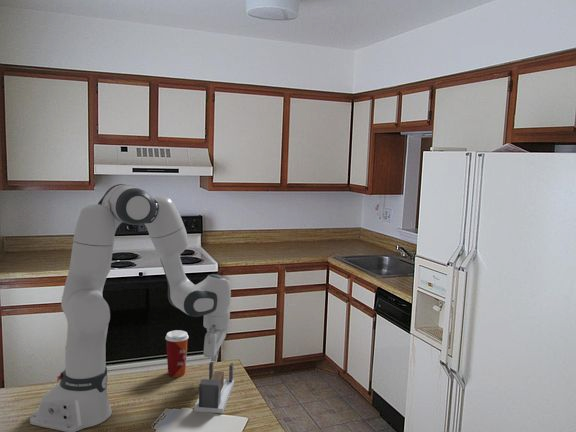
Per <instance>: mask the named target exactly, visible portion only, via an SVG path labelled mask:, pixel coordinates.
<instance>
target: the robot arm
mask: <svg viewBox="0 0 576 432" xmlns="http://www.w3.org/2000/svg"><path fill="white" fill-rule="evenodd" d="M122 223H124V224H128V225H133V226H138V225H144V226H145V228H146V230H147V231H148V235H149V237H150V240H151V242H152V244H153V247H154V249H155V251H156V253H157V254H158V257H159V259H160V263H161V267H162V268H163V269H162V270H163V271H164V275H165V278H166V281H167V298H168V302H169V303H170V305H172V306H173V307H175V308H176V309H179V310H180V311H181V312H183V313H184V314H186V315H187V316H189V317H193V318H199V317H203V322H202V323H203V327H204V328H205V329H206V331H207V332H206V333H205V334H204V335H205V336H204V342H203V356H204V357H206V358H210V362H217V360H218V358H219V352H220V347H221V346H222V344H223V342H224V340H225V339H226V337H227V331H228V328H229V327H230V321H231V320H230V318H231V311H230V303H231V297H232V291H231V289H232V287H231V282H230V279H229V277H227V276H224V275H220V274H215V273H211V274H208V275H207V276H206V278H204V279H203V280H202V281H200V282H198V283H197V284H194V283H193V282H192V281H191V280H190V279H189V278H188V277H187V275H186V273H185V269H184V267H183V263H182V259H181V255H182V253H184V251H186V248H187V247H188V245H189V238H188V233H187V230H186V227H185V224H184V222H183V218H182V216H181V214H180V212H179V211H178V208H177V207H176V204H175V203H174V201H173V200H172V199H171V198H170V197H167V196H165V195H158V196H151V194H149V192H147V191H146V190H143V189H141V188H139V187H137V186H135V185H131V184H123V183H119V184H115V185H113V186H111V187H109V188H108V190H106V192H105V194H104V195H103V196H102V198H101V199H99V201H98V203H96V204H89V205H87V206H85V207H84V208H82V209H81V210H80V212H79V215H78V219H77V221H76V226H75V229H74V234H73V241H72V248H71V255H70V261H69V268H68V272H67V276H66V280H65V284H64V288H63V293H62V296H61V302H60V303H61V304H60V307H61V310H62V312H63V314H64V315H65V318H66V322H67V334H66V344H65V347H64V352H65V353H64V358H65V361H64V363H65V365H64V366H65V368H64V370H63V371H61V372H60V374H59V375H58V376H57V377H56V381H57V382H58V383H57V384H56V385H55V386H54V387H52V388H51V389H49V390H48V391H47V392H45V394H44V395H43V396H42V398H41V399H40V402H39V406H38V407H37V409H35V410H34V412H32V414H31V416H30V418H29V424H30V425H31V426H32V425H33V426H37V427H41V428H47V429H50V430H51V429H52V430H57V431H61V432H79V431H82V430H83V429H85V428H91V427H94V426H97V425H99V424H102V423H103V422H105V421H107V420H108V419H109V418H110V417H111V415H112V413H113V411H112V408H111V404H110V401H109V397H108V395H109V394H108V391H107V390H108V389H107V388H108V381H109V380H108V368H107V366H106V343H107V338H108V337H107V335H108V329H109V323H110V320H111V310H110V306H109V304H108V302H107V301H106V300H105V298H104V297H103V295H104V294H103V291H104V286H105V283H106V280H107V277H108V275H109V274H110V272H111V266H112V259H113V252H114V245H115V235H116V232H117V229H118V227H119V226H120V225H121V224H122Z"/></svg>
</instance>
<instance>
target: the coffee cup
mask: <svg viewBox="0 0 576 432" xmlns="http://www.w3.org/2000/svg"><path fill="white" fill-rule="evenodd" d="M189 338H190V337H189V335H188V332H187V331H185V330H181V329H180V330H179V329H178V330H177V329H175V330H171V331H168V332H167V333H166V336H165V343H166V344H165V345H166V358H167V359H166V361H167V373H168V374H167V375H168V376H169V377H172V378H179V377H182V376H184V375H185V374H186V367H187V366H186V365H187V354H188V341H189V340H188V339H189Z"/></svg>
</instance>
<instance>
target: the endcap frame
mask: <svg viewBox="0 0 576 432" xmlns="http://www.w3.org/2000/svg"><path fill="white" fill-rule="evenodd" d="M214 362H215V361H210V362H209V367H208V371H209V372H208V378H207V379H205V378H204V379H203V378H202V379H200V382H199V383H198V386H199V387H198V398H197V400H196V402H195V404H194V407H193V411H194V412H197V413H199V412H200V413H210V414H211V413H213V414H223V413H224V411H225V409H226V405H227V403H228V401H229V398H230V396H231V393H232V391H233V388H234V386H235V379H234V363H233V362H230V363H229V366H228V369H229V370H228V378H224V385H223V387H222V389H221V380H211V378H212V376H213V374H214V364H215V363H214Z"/></svg>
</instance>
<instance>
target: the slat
mask: <svg viewBox="0 0 576 432" xmlns="http://www.w3.org/2000/svg"><path fill="white" fill-rule="evenodd" d="M224 372H225V371H219V370H218V371H213V376H212V378H211V380H221V389H222V387H223V385H224V379H225V373H224Z"/></svg>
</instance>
